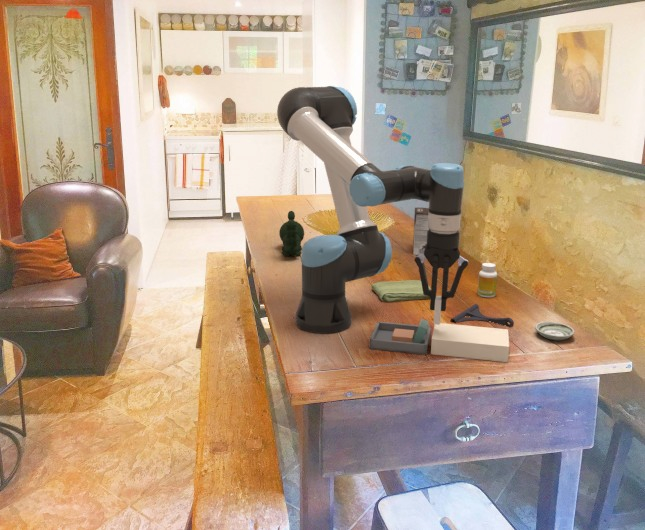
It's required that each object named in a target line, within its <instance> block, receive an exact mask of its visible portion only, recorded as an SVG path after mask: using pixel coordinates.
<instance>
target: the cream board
mask: <svg viewBox="0 0 645 530" xmlns="http://www.w3.org/2000/svg"><path fill="white" fill-rule="evenodd" d="M431 335H432V336H431V345H430V346H431V347H430V355H435V356H445V357H454V358H463V359H466V358H467V359H474V360H483V361H493V362H502V363H509V354H510V338H509V329H505V328H496V327H495V328H494V327H486V326H474V325H466V324H465V325H463V324H456V323H454V324H453V323H444V322H443V323H442V322H440V325H437V324H434V327H433V331H432V334H431Z"/></svg>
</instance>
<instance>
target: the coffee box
mask: <svg viewBox="0 0 645 530" xmlns="http://www.w3.org/2000/svg"><path fill="white" fill-rule="evenodd" d="M428 214H429V207H414V214H413V215H414V218H413V237H412V238H413V239H412V240H413V241H412V242H413V244H412V246H413V247H412V249H413V250H412V251H413V252H412V253H413V255H414V256H416V255H420V254H422V253H424V250H425V249H426V245H427V231H428V230H429V228H428Z"/></svg>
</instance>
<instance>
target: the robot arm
mask: <svg viewBox="0 0 645 530" xmlns="http://www.w3.org/2000/svg"><path fill="white" fill-rule="evenodd" d="M354 98H355V97H353V95H352V94H351V93H350V91H348V89H345V88H344V87H341V86H340V87H339V86H334V85H333V86H332V85H328V86H310V87H309V86H301V87H300V86H299V87H293V88H292V89H290V90H288V91H287V92H286V93H284V95H282V97H281V98H280V100H279V102H278V105H277V109H276V113H277V115H276V116H277V120H278V121H277V122H278V124H279V125H280V127H281V129H282V130H283V131H284V133H285V134H286V135H288V137H290V138H291V139H292V140H294V141H300V142H301V143H302V144H303V145H304V146H305V147H307V148H308V149H309V150H310V151H311V152H312V153H313V154H314V155H315V156H316V157H318V159H320V160H321V161H322V162H323V164H324V168H325V172H326V177H327V180H328V185H329V188H330V191H331V192H330V193H331V196H332V201H333V204H334V209H335V212H336V217H337V221H338V225H339V229H338V230H337V232H336V234H327V235H325V234H323V235H317V236H314V237H312V238H310V239H307V240H306V241H305V242H304V243H303V245H302V246H301V247H302V250H301V255H300V256H301V257H300V262H301V298H300V301H299V304H298V307H297V309H296V314H295V324H296V326H297V327H298V328H299V329H301V330H303V331H305V332H308V333H315V334H317V333H319V334H331V333H332V334H333V333H338V332H342V331H345V330H347V329H348V328H350V327H351V325H352V313H351V309H350V306H349V303H348V301H347V298H346V283H348V282H353V281H356V280H360V279H364V278H365V279H366V278H368V277H369V278H370V277H374V276H376V275H378V274H381V273H383V272H385V270H387V268H388V267H389V264H390V263H391V260H392V256H393V250H392V249H393V247H392V244H391V240H390V239H389V237H387V235H386V234H385V233H383V232H382V231H381V232H380V231H379V228H378V224H377V223H375V222H373V221H372V220H371V219H370V214H369V211H368V207H376V206H380V205H385V204H390V203H397V202H403V201H404V202H405V201H409V200H419V201H423V202H426V203H428V208H429V214H428V228H429V230H428V231H427V245H426V249H425V250H424V253H422V254H420V255H415V257H414V262H415V264H416V265H417V267H418V273H419V278H420V280H421V284H422V289H423V294H424V295H427V296H429V297H430V299H429V300H430V301H429V302H430V303H429V309H430V311H433V325H435V324H437V325H440V323H441V317H442V316H441V315H442V312H446V309H447V300H448V299H450V298H452V299H453V298H454V297H455V295H456V293H457V289H458V287H459V285H460V280H461V278H462V274H463V273H464V271H465V269H466V268H467V266H468V265H469V259H468V258H464V257H463V256H461V252H460V250H459V246H460V244H459V243H460V234H461V233H460V231H459V230H460V229H461V219H462V204H463V203H462V202H463V195H464V187H465V181H464V180H465V175H464V174H465V170H464V167H463V166H462V165H461V164H457V163H451V162H450V163H449V162H440V163H438V162H437V163H435V164H433V165H432V166H431V169H427V168H421V167H417V166H415V165H405V164H404V165H403V164H402V165H398V166H397V167H396V168H395V169H392V170H385V171H383V170H381V169H380V168H378V167H377V166H376V165H375V164H374V163H372V162H371V161H370V160H369V159H368V158H366V157H365V156H364V154H362V153H360V152H359V151H358V150H357V149H356V148H355V147H353V146H352V143H351V139H350V136H351V134H352V133H353V131H354V128H353V126H354V124H355V123H356V120H357V115H358V107H357V103H356V101H355V99H354ZM426 260H427V262H428V263H429V265H430V266H431V267H432V269H431V271H432V273H431V287H430V286H428V285H429V280H428V277H427V271H426V265H425V262H426ZM457 261H458V262H457ZM456 262H457V266H458V267H457V270H456V273H455V276H454V278H453V281H452V283H451V287H450V289H449V291H448V287H449V285H448V284H449V272H450V268H451V267H453V265H454V264H455V263H456ZM439 269H443V270H442V283H441V295H437V287H438V277H439V275H438V274H439ZM429 287H430V289H431V290H430V289H429Z"/></svg>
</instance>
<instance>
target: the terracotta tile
mask: <svg viewBox="0 0 645 530" xmlns="http://www.w3.org/2000/svg"><path fill="white" fill-rule="evenodd" d="M413 338H414V330H406V329H396V328H395V330H394V332H393V335H392V341H400V342H410V343H412V342H413Z"/></svg>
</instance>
